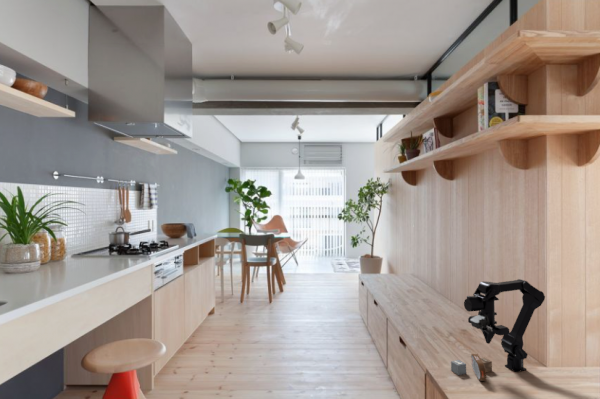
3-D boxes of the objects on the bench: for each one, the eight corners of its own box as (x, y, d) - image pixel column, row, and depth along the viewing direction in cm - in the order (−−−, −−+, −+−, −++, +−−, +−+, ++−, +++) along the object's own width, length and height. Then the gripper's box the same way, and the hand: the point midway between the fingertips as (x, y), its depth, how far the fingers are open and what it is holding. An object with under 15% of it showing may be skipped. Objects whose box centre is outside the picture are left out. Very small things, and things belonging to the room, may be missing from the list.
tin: (487, 384, 156) (487, 365, 156) (479, 384, 156) (479, 364, 156) (477, 368, 170) (477, 350, 170) (470, 368, 171) (470, 350, 171)
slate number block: (459, 369, 170) (458, 359, 170) (466, 373, 166) (466, 363, 166) (451, 370, 169) (451, 360, 169) (458, 375, 164) (458, 365, 164)
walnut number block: (484, 366, 172) (484, 356, 172) (492, 371, 168) (491, 360, 168) (476, 368, 171) (476, 358, 171) (484, 372, 167) (484, 362, 166)
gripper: (458, 306, 174) (459, 338, 174) (490, 318, 156) (490, 354, 156) (477, 303, 177) (477, 335, 177) (510, 315, 160) (510, 350, 160)
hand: (488, 343), depth 168 cm, fingers closed
